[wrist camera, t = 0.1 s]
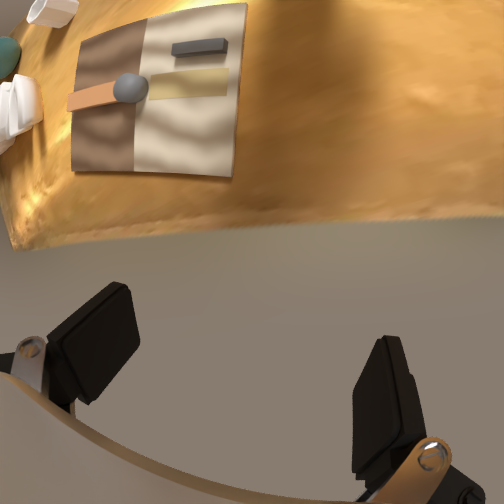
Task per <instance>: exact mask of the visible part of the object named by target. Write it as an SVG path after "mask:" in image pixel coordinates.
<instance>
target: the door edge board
mask: <svg viewBox="0 0 504 504" xmlns="http://www.w3.org/2000/svg"><path fill="white" fill-rule="evenodd" d="M247 10H248V4H247V3H233V4H222V5H213V6H206V7H199V8H193V9H187V10H181V11H176V12H172V13H167V14H163V15H159V16H155V17H151V18H147V19H143V20H140V21H136V22H133V23H130V24H127V25H124V26H121V27H118V28H115V29H112V30H109V31H107V32H104V33H101V34H99V35H96V36H94V37H91V38H89V39H87V40H84V41H82V42H81V46H80V51H79V57H78V63H77V69H76V77H75V85H74V92H76V91H80V90H83V89H86V88H90V87H93V86H97V85H101V84H105V83H109V82H113V81H116V80H117V79H118V78H119V77H120V76H121V75H123V74H125V73H131V74H136V75H140V76H143V77H145V78H146V79H147V81H148V91H147V94H146V96H145V97H144V98H143V99H142V100H141V101H140V102H137V103H128V102H117V103H112V104H106V105H101V106H96V107H92V108H87V109H83V110H79V111H75V112H72V124H71V170H72V171H140V172H166V173H184V174H199V175H212V176H224V177H233V168H234V154H235V140H236V127H237V114H238V102H239V90H240V79H241V68H242V58H243V48H244V38H245V28H246V19H247Z"/></svg>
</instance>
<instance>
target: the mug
mask: <svg viewBox="0 0 504 504" xmlns="http://www.w3.org/2000/svg"><path fill="white" fill-rule="evenodd" d="M78 6H79V3H78V1H77V0H36V1H35V2H34V4H33V5H32V6H31V8H30V11H29V14H28V16H27V19H26V20H27V21H28V23H29V24H36V25H43V26H49V27H54V28H59V29H60V28H61V27H63V26H65V25H67V24H68V23H69V21H70V20H71V19H72V18H73V17H74V15H75V14H76V11H77V8H78Z"/></svg>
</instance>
